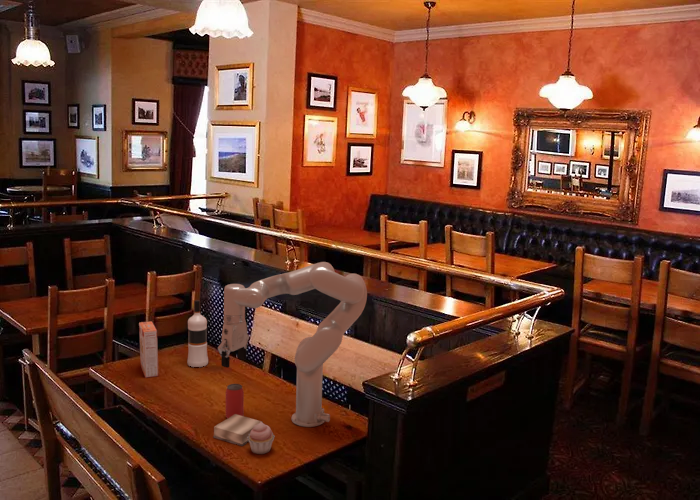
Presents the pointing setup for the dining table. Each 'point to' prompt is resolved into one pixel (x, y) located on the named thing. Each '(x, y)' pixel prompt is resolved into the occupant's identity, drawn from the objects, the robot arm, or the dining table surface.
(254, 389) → the dining table surface
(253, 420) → the stand
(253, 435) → the cupcake
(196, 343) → the vodka
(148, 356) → the cracker box
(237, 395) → the beer can
